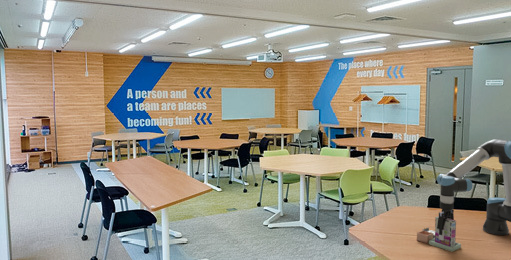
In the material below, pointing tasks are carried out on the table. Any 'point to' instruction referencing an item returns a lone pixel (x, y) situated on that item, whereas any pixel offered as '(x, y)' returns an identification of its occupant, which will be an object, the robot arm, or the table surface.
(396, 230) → the table surface
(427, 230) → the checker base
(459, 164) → the robot arm
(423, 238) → the terracotta square pot
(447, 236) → the candy bar box
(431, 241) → the pale green shallow tray
